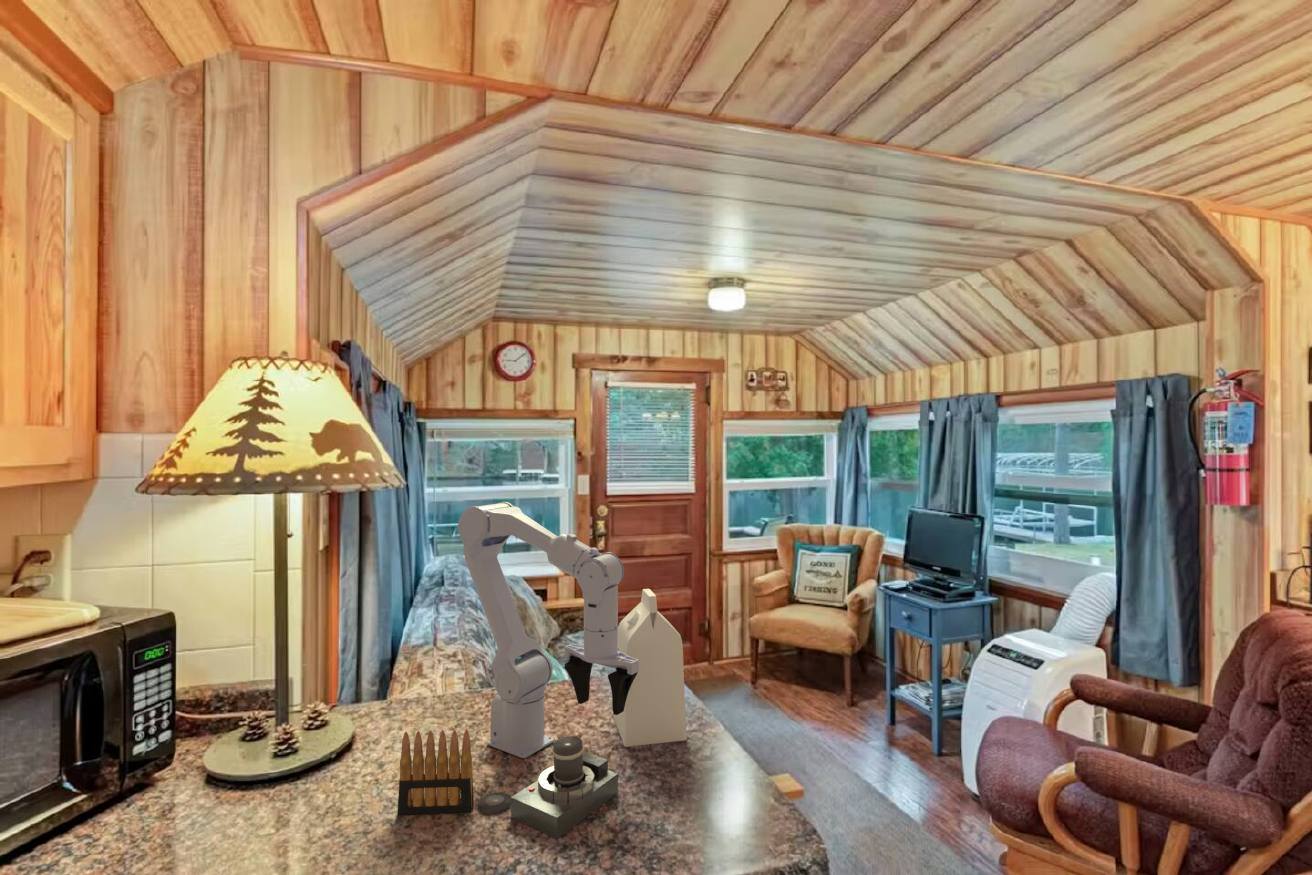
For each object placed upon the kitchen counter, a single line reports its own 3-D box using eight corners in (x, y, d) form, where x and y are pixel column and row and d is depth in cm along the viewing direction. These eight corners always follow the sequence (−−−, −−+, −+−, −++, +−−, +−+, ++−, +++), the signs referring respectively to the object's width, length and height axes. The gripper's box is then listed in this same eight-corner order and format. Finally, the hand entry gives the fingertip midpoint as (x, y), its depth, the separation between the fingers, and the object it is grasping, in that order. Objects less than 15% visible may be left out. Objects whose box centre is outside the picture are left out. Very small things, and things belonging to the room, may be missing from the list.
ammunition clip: (474, 805, 98) (474, 726, 98) (471, 813, 96) (471, 732, 96) (401, 808, 97) (401, 728, 97) (397, 816, 96) (397, 734, 96)
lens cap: (470, 810, 98) (470, 804, 98) (493, 794, 102) (493, 788, 102) (496, 819, 95) (496, 812, 95) (518, 802, 100) (518, 795, 100)
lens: (547, 785, 98) (546, 746, 98) (566, 770, 102) (565, 733, 102) (571, 794, 96) (570, 754, 96) (590, 778, 100) (589, 740, 100)
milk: (686, 740, 120) (687, 598, 119) (624, 746, 117) (625, 602, 117) (670, 712, 131) (670, 583, 131) (613, 718, 129) (614, 586, 128)
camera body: (511, 817, 95) (511, 786, 95) (574, 775, 107) (574, 747, 107) (556, 838, 90) (557, 805, 90) (618, 792, 102) (618, 763, 102)
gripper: (649, 628, 109) (649, 708, 109) (583, 614, 117) (582, 689, 118) (624, 639, 103) (624, 724, 104) (556, 624, 112) (556, 703, 112)
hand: (600, 707), depth 110 cm, fingers open, 7 cm apart
